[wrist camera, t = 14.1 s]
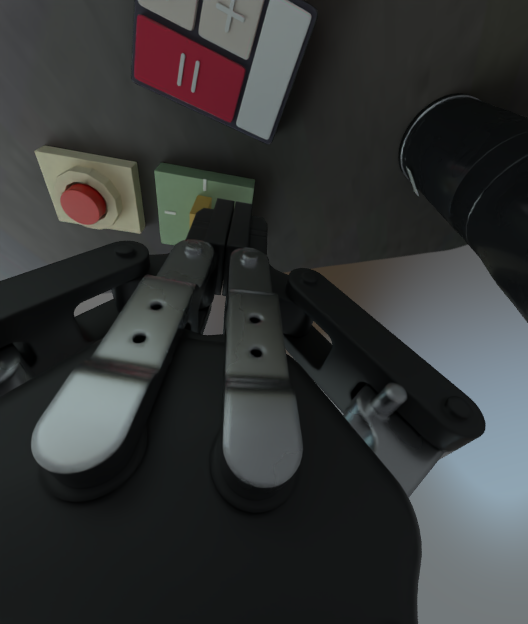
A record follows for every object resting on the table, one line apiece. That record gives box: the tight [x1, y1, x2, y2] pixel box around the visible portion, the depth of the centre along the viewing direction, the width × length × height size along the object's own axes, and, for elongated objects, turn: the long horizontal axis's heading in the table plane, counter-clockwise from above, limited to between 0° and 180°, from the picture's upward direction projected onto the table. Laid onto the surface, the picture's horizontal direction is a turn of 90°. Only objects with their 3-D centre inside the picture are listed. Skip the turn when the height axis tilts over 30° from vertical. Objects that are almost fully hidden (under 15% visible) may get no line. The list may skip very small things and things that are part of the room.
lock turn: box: [190, 195, 212, 227], centre depth 36 cm, size 6×2×5 cm, turn 170°
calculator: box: [131, 0, 318, 144], centre depth 27 cm, size 11×4×15 cm
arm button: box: [60, 183, 106, 225], centre depth 36 cm, size 4×4×2 cm
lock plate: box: [154, 162, 255, 245], centre depth 39 cm, size 12×10×3 cm
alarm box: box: [35, 145, 145, 234], centre depth 37 cm, size 11×9×4 cm
